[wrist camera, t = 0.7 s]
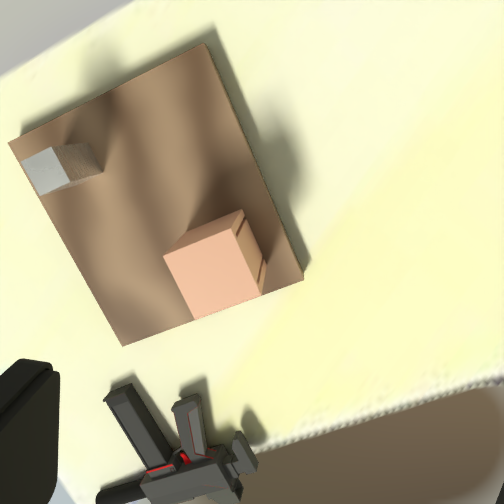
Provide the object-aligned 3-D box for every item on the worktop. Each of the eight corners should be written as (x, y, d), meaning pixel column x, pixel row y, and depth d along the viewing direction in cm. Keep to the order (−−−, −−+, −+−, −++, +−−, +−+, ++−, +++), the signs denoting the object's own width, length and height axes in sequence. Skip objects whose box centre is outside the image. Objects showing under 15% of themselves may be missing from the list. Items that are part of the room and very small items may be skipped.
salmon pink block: (241, 208, 35) (230, 228, 28) (266, 265, 36) (261, 295, 30) (185, 232, 36) (162, 256, 29) (211, 285, 37) (195, 319, 31)
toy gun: (39, 425, 44) (112, 537, 46) (194, 368, 38) (267, 498, 41) (58, 406, 47) (125, 513, 49) (203, 351, 41) (271, 474, 44)
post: (96, 141, 36) (51, 146, 29) (111, 170, 36) (70, 181, 30) (70, 154, 36) (20, 161, 30) (85, 182, 37) (39, 196, 30)
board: (207, 46, 33) (203, 42, 31) (303, 273, 37) (303, 279, 36) (18, 141, 36) (7, 142, 35) (128, 338, 41) (122, 346, 40)
